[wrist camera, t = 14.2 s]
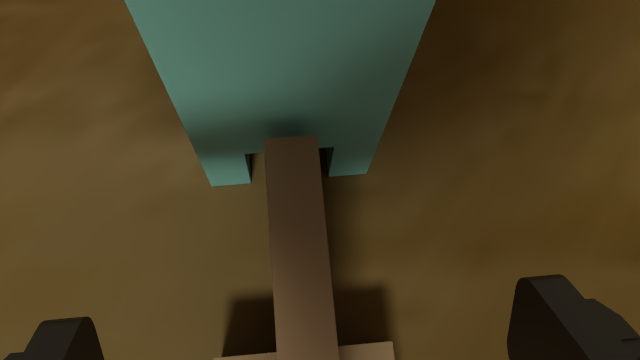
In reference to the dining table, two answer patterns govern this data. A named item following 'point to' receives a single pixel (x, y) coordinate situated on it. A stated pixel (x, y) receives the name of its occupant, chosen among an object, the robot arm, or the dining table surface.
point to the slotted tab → (281, 73)
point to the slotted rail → (302, 259)
